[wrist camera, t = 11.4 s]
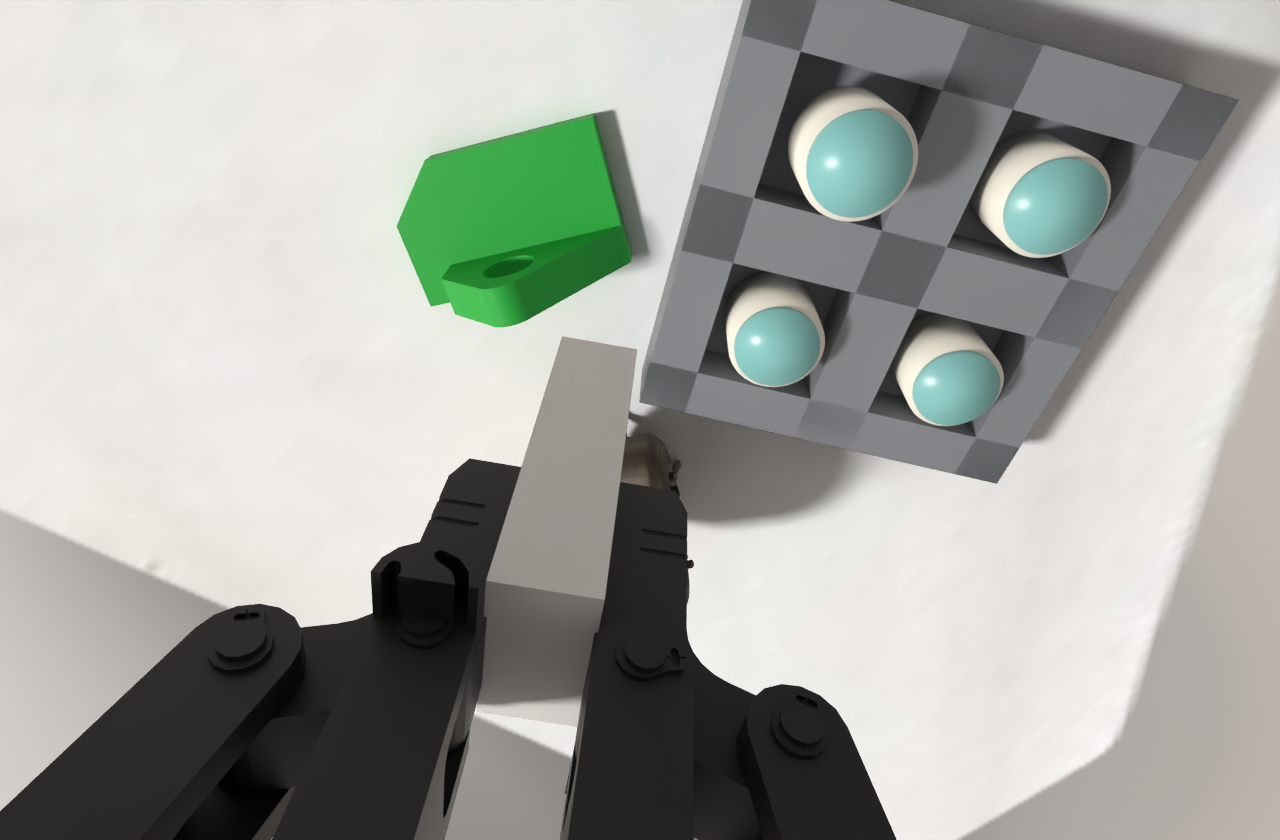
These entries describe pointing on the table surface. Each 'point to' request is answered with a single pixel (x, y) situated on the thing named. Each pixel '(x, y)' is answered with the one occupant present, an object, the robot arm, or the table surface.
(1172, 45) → the table surface
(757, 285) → the button
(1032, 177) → the button
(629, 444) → the alarm clock
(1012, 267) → the button board
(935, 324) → the button
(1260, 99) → the table surface
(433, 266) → the bracket
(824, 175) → the button
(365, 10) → the table surface
